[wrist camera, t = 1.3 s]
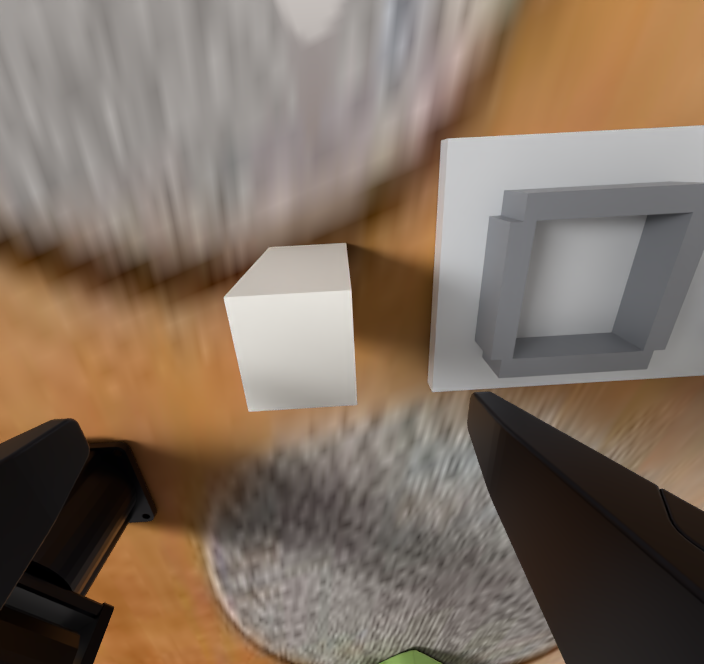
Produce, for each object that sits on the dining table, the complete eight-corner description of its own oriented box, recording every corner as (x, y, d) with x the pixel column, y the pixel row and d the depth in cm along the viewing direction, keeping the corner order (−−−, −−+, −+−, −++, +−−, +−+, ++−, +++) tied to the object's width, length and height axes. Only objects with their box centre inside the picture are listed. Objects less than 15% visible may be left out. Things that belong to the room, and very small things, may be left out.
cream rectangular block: (350, 321, 18) (357, 405, 11) (280, 325, 18) (248, 411, 11) (346, 243, 16) (351, 290, 10) (269, 247, 16) (223, 297, 10)
